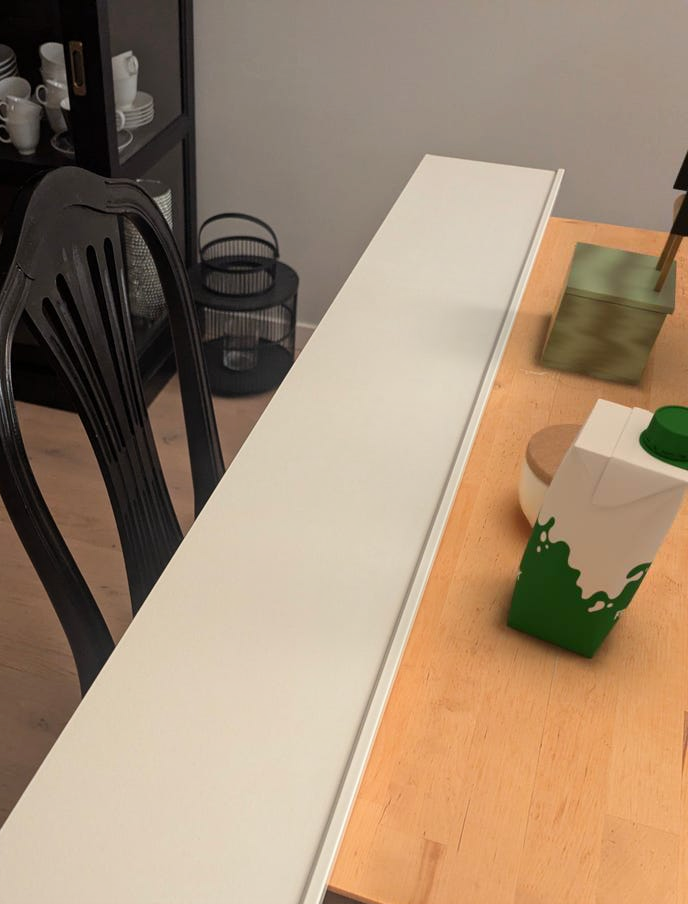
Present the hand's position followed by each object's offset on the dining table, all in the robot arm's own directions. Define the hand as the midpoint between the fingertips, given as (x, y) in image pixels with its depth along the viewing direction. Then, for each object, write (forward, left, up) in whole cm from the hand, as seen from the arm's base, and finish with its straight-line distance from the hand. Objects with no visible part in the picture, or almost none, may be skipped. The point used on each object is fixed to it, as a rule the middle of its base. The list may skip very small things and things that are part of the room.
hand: (684, 211), depth 98 cm
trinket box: (+4, +37, -17) cm, 41 cm away
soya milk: (+3, +50, -17) cm, 53 cm away
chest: (+4, 0, -17) cm, 17 cm away
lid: (+4, 0, -8) cm, 9 cm away
